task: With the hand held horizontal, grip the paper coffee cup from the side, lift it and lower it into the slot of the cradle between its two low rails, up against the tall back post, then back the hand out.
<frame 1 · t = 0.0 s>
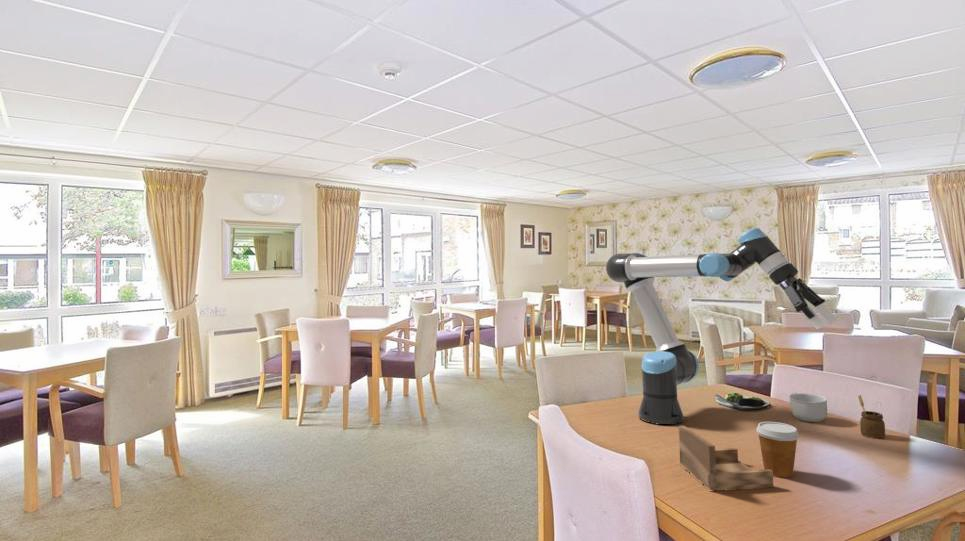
hand: (828, 324, 139), 36 cm above the table, tool tilted 35°, fingers open, 13 cm apart
utensil holder: (872, 436, 145), on the table
cradle: (724, 475, 120), on the table
disposable coffee cup: (778, 473, 121), on the table
salad plate: (742, 406, 181), on the table
teacup: (806, 418, 163), on the table
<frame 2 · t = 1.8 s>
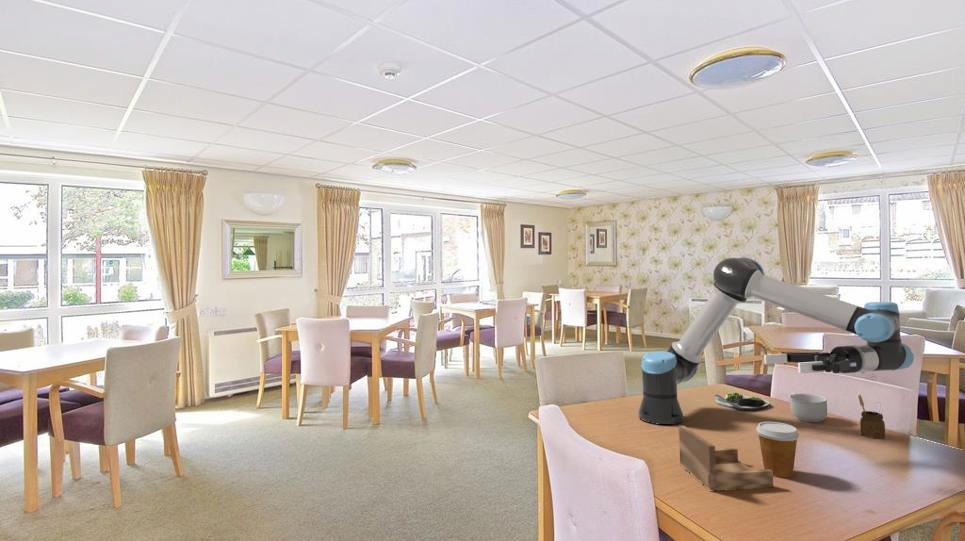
hand: (781, 363, 130), 27 cm above the table, tool horizontal, fingers open, 13 cm apart
nothing on the table moved.
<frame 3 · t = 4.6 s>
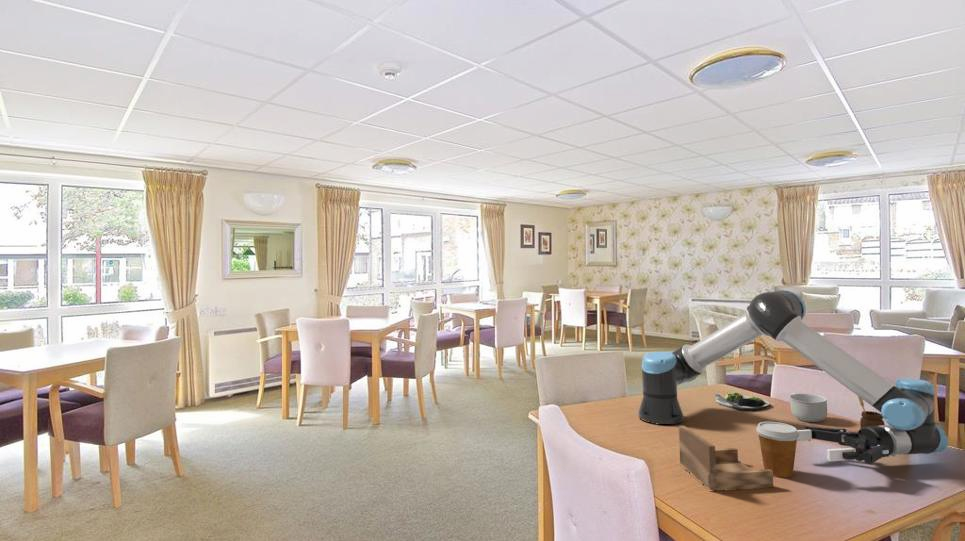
hand: (807, 445, 122), 7 cm above the table, tool horizontal, fingers open, 13 cm apart
nothing on the table moved.
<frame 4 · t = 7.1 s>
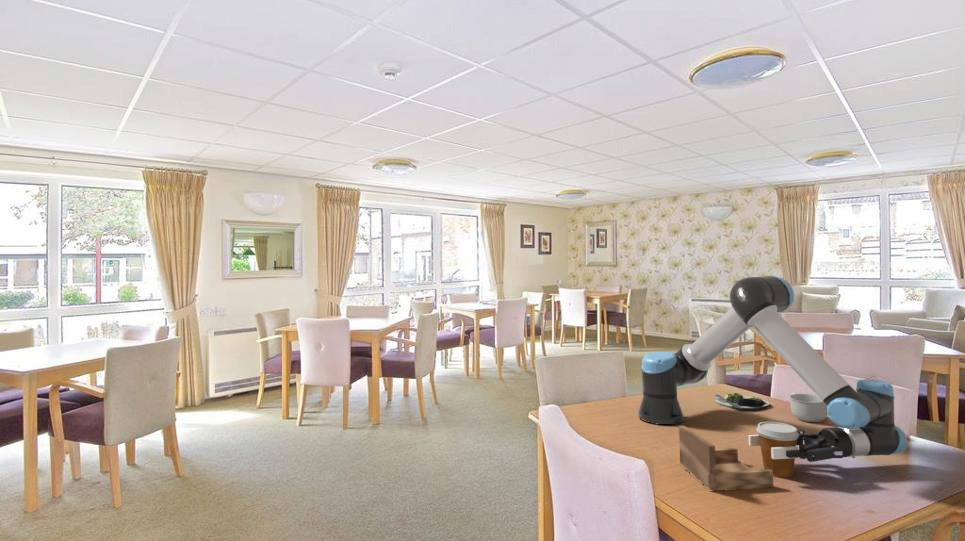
hand: (760, 446, 121), 7 cm above the table, tool horizontal, fingers closed on disposable coffee cup, 8 cm apart
disposable coffee cup: (778, 473, 121), on the table, touching gripper
everything else where it was.
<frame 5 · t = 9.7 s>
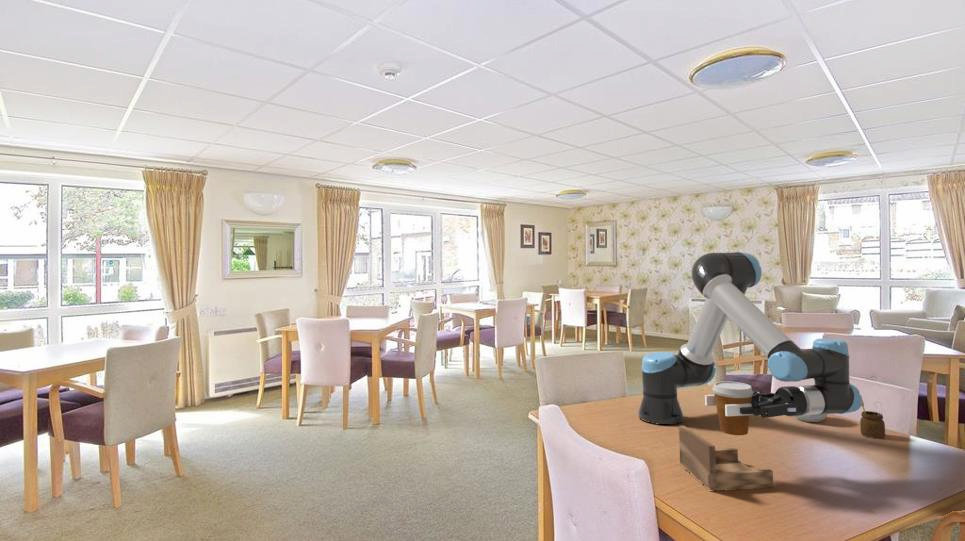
hand: (715, 405, 120), 19 cm above the table, tool horizontal, fingers closed on disposable coffee cup, 8 cm apart
disposable coffee cup: (733, 432, 120), point 11 cm above the table, touching gripper
everything else where it was.
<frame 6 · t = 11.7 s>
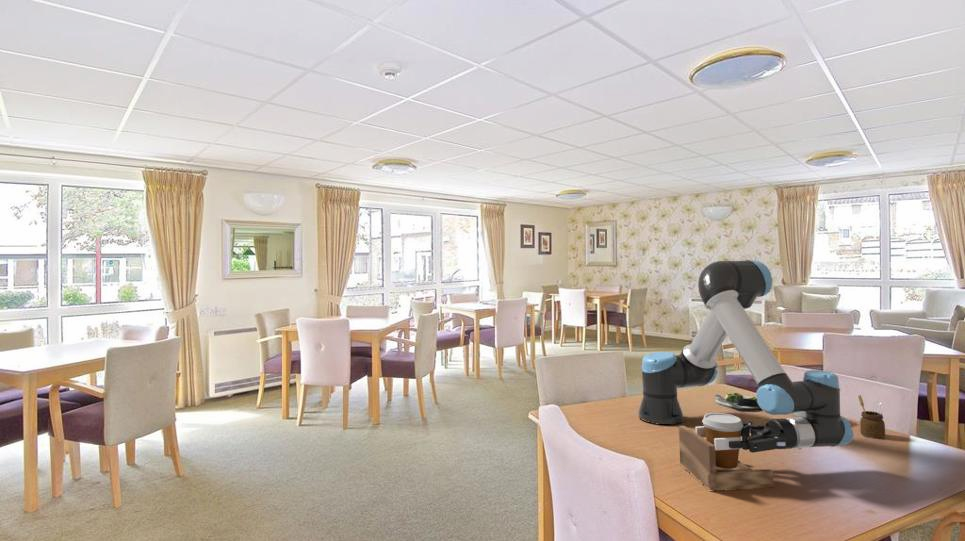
hand: (705, 438, 120), 10 cm above the table, tool horizontal, fingers closed on disposable coffee cup, 8 cm apart
disposable coffee cup: (723, 464, 120), point 3 cm above the table, touching gripper
everything else where it was.
when the fingers open (10 cm above the table, at t = 12.2 s): disposable coffee cup drops 2 cm, resting on cradle.
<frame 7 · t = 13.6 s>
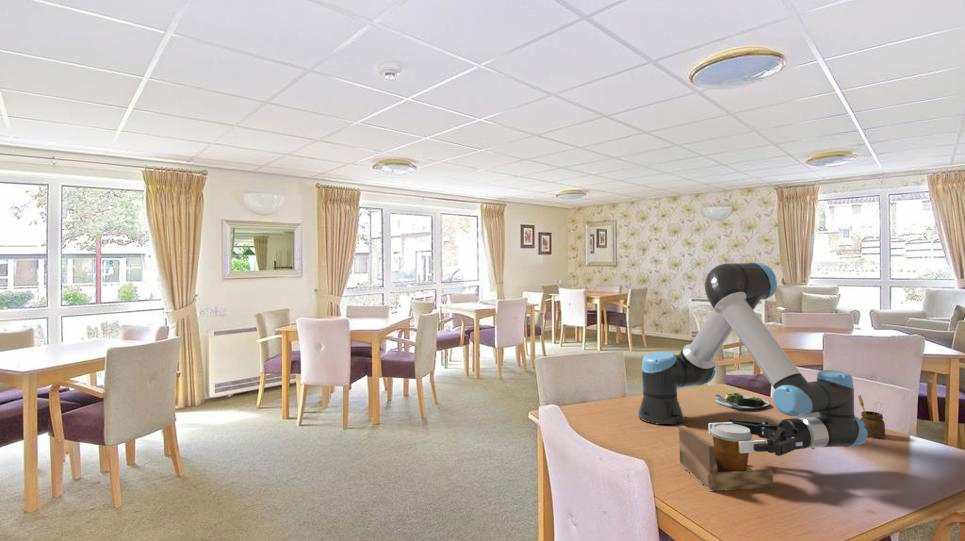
hand: (723, 437, 120), 10 cm above the table, tool horizontal, fingers open, 13 cm apart
disposable coffee cup: (731, 476, 118), point 1 cm above the table, touching cradle
everything else where it was.
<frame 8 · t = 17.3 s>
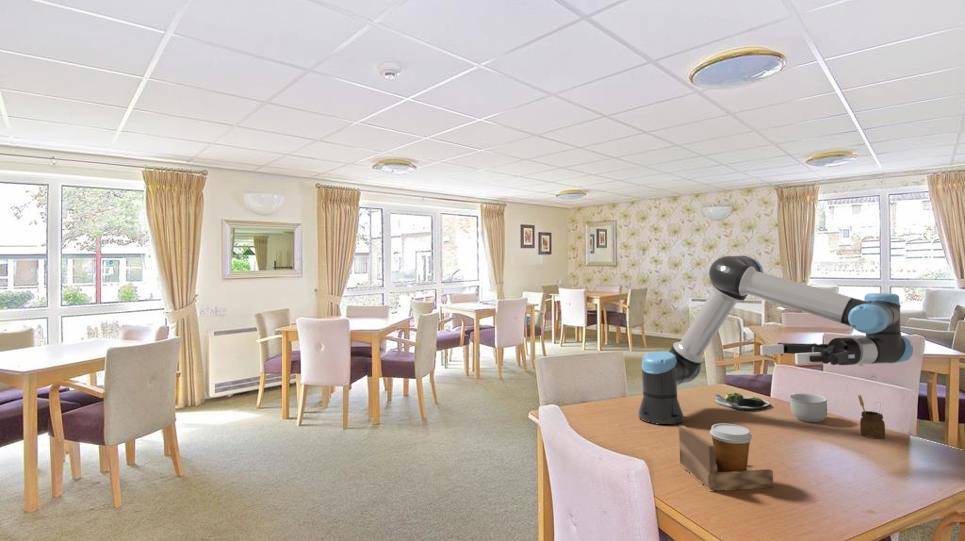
hand: (777, 354, 127), 30 cm above the table, tool horizontal, fingers open, 13 cm apart
nothing on the table moved.
at the end: disposable coffee cup inside the target area on the cradle (2.4 cm from its centre), point 0.8 cm above the cradle's base; disposable coffee cup tilted 0°; the gripper is holding nothing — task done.
